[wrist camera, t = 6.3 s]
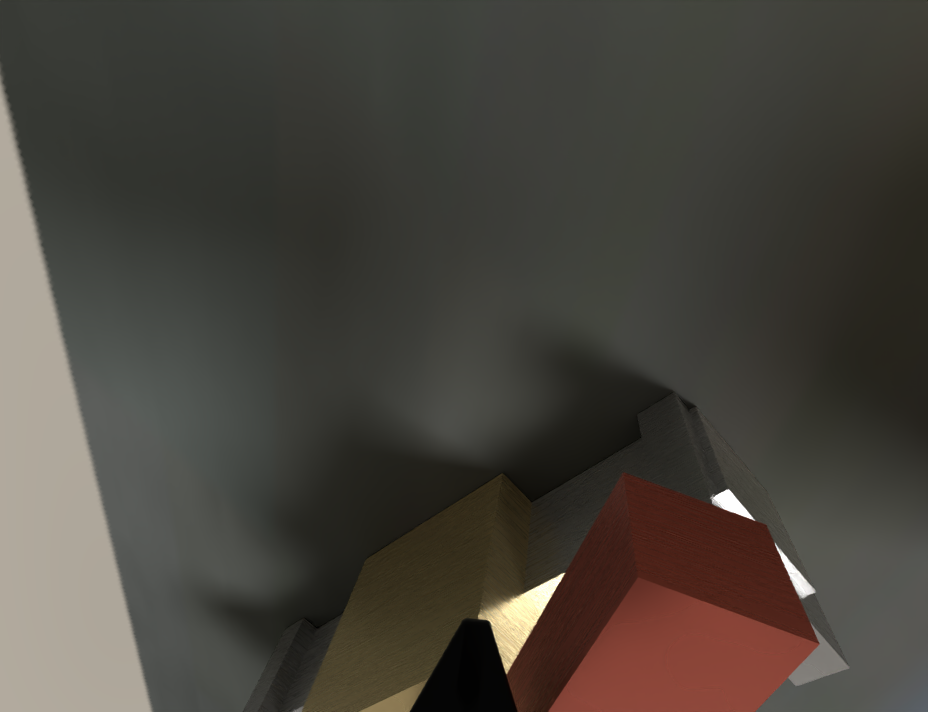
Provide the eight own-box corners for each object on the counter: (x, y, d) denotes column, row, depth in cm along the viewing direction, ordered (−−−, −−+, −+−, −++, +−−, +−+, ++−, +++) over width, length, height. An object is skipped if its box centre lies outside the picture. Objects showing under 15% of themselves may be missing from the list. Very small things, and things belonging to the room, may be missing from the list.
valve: (665, 369, 15) (750, 618, 8) (794, 524, 17) (961, 851, 10) (269, 620, 23) (130, 868, 15) (382, 713, 24) (303, 980, 17)
